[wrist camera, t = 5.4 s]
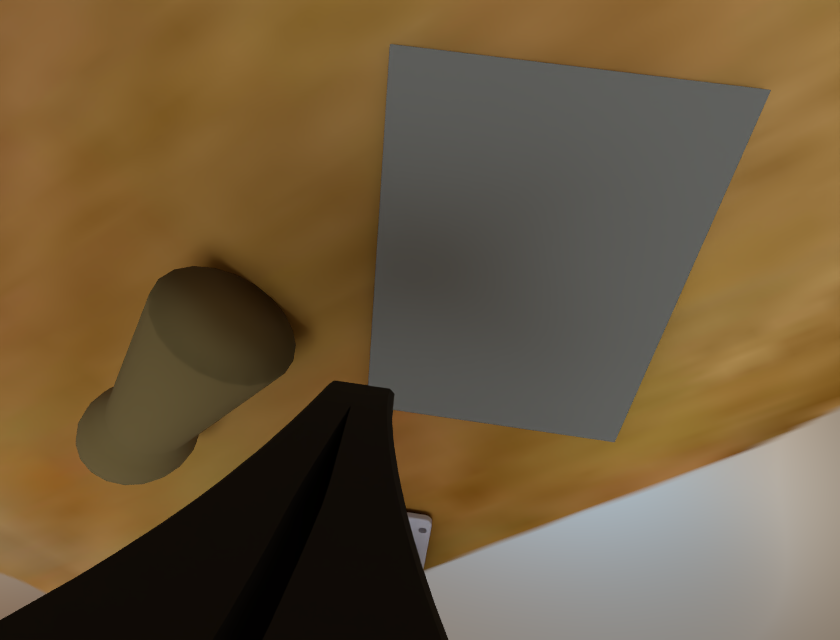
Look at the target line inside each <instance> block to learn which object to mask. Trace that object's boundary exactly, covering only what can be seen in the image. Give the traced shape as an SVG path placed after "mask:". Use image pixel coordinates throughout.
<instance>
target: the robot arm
mask: <svg viewBox="0 0 840 640" xmlns="http://www.w3.org/2000/svg"><path fill="white" fill-rule="evenodd" d="M394 395H395V394H394V393H393V391H392V390H391V389H389V388H382V387H376V386H369V385H362V384H355V383H348V382H341V381H333V382H331V383H330V384H329V385H328V386H327V387H326V388H325V389H324V390H323V391H322V392H321V393H320V394H319V395H318V396H317V397H316V398H315V399H314V400H313V401H312V402H311V403H310V404H309V405H308V406H307V407H306V408H305V409H303V410H302V411H301V412H300V413H299V414H298V415H297V416H296V417H295V418H294V419H293V420H292V421H291V422H290V423H289V424H287V425H286V426H285V427H284V428H283V429H282V430H281V431H280V432H279V433H277V434H276V435H275V436H274V437H273V438H272V439H271V440H270V441H268V442H267V443H266V444H265V445H264V446H263V447H262V448H260V449H259V450H258V451H257V452H256V453H254V454H253V455H252V456H251V457H249V458H248V459H247V460H246V461H244V462H243V463H242V464H241V465H240V466H238V467H237V468H236V469H235V470H233V471H232V472H231V473H230V474H228V475H227V476H226V477H225V478H223V479H222V480H221V481H220V482H218V483H217V484H216V485H214V486H213V487H212V488H210V489H209V490H208V491H206V492H205V493H204V494H202V495H201V496H199V497H198V498H197V499H195V500H194V501H193V502H191V503H190V504H188V505H187V506H186V507H184V508H183V509H181V510H180V511H178V512H177V513H176V514H174V515H173V516H171V517H170V518H168V519H167V520H165V521H164V522H162V523H161V524H160V525H158V526H156V527H155V528H153V529H152V530H150V531H149V532H147V533H146V534H144V535H143V536H141V537H139V538H138V539H136V540H135V541H133V542H132V543H130V544H129V545H127V546H126V547H124V548H122V549H121V550H119V551H118V552H116V553H115V554H113V555H112V556H110V557H108V558H107V559H105V560H103V561H102V562H100V563H99V564H97V565H95V566H94V567H92V568H90V569H89V570H87V571H85V572H84V573H82V574H80V575H79V576H77V577H75V578H74V579H72V580H70V581H68V582H67V583H65V584H63V585H61V586H60V587H58V588H56V589H54V590H52V591H51V592H49V593H47V594H45V595H44V596H42V597H40V598H38V599H37V600H35V601H33V602H31V603H30V604H28V605H26V606H24V607H23V608H21V609H19V610H17V611H15V612H14V613H12V614H10V615H9V616H7V617H5V618H3V619H1V620H0V640H448V638H447V635H446V632H445V630H444V627H443V624H442V622H441V619H440V616H439V614H438V611H437V609H436V606H435V603H434V600H433V597H432V595H431V591H430V588H429V585H428V583H427V579H426V576H425V573H424V570H423V569H424V563H425V558H426V553H427V547H428V542H429V537H430V532H431V526H432V519H431V518H430V517H429V516H427V515H423V514H416V513H410V512H407V511H406V506H405V502H404V497H403V493H402V489H401V484H400V479H399V474H398V468H397V461H396V455H395V448H394V440H393V428H392V415H393V405H394Z"/></svg>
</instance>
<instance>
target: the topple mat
mask: <svg viewBox="0 0 840 640" xmlns="http://www.w3.org/2000/svg"><path fill="white" fill-rule="evenodd" d="M770 91H771V90H766V89H758V88H750V87H742V86H733V85H725V84H717V83H708V82H700V81H692V80H684V79H675V78H667V77H659V76H650V75H642V74H634V73H626V72H617V71H609V70H601V69H592V68H584V67H576V66H568V65H559V64H551V63H543V62H534V61H526V60H518V59H510V58H501V57H493V56H485V55H476V54H468V53H460V52H452V51H443V50H435V49H427V48H418V47H410V46H402V45H394V44H390V52H389V67H388V83H387V99H386V115H385V130H384V146H383V162H382V177H381V193H380V209H379V225H378V240H377V256H376V272H375V287H374V303H373V319H372V335H371V350H370V366H369V382H368V385H369V386H376V387H382V388H389V389H391V390H392V391H393V393H394V394H395V395H394V405H393V410H399V411H406V412H413V413H419V414H426V415H433V416H440V417H447V418H453V419H460V420H467V421H474V422H481V423H488V424H494V425H501V426H508V427H515V428H522V429H528V430H535V431H542V432H549V433H556V434H563V435H569V436H576V437H583V438H590V439H597V440H604V441H610V442H615V440H616V438H617V436H618V433H619V431H620V429H621V427H622V424H623V422H624V420H625V418H626V415H627V413H628V411H629V409H630V406H631V404H632V402H633V399H634V397H635V395H636V393H637V390H638V388H639V386H640V384H641V381H642V379H643V377H644V375H645V372H646V370H647V368H648V366H649V363H650V361H651V359H652V357H653V354H654V352H655V350H656V348H657V345H658V343H659V341H660V339H661V336H662V334H663V332H664V330H665V327H666V325H667V323H668V321H669V318H670V316H671V314H672V312H673V309H674V307H675V305H676V303H677V300H678V298H679V296H680V294H681V291H682V289H683V287H684V285H685V282H686V280H687V278H688V276H689V273H690V271H691V269H692V267H693V264H694V262H695V260H696V258H697V255H698V253H699V251H700V249H701V246H702V244H703V242H704V240H705V237H706V235H707V233H708V231H709V228H710V226H711V224H712V222H713V219H714V217H715V215H716V213H717V210H718V208H719V206H720V204H721V201H722V199H723V197H724V195H725V192H726V190H727V188H728V186H729V183H730V181H731V179H732V177H733V174H734V172H735V170H736V168H737V165H738V163H739V161H740V159H741V156H742V154H743V152H744V150H745V147H746V145H747V143H748V141H749V138H750V136H751V134H752V132H753V129H754V127H755V125H756V122H757V120H758V118H759V116H760V113H761V111H762V109H763V107H764V104H765V102H766V100H767V98H768V95H769V93H770Z"/></svg>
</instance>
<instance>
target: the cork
mask: <svg viewBox="0 0 840 640" xmlns="http://www.w3.org/2000/svg"><path fill="white" fill-rule="evenodd" d="M295 346H296V345H295V340H294V335H293V330H292V328H291V326H290V324H289V322H288V320H287V318H286V316H285V314H284V313H283V312H282V310H281V309H280V308H279V307H278V306H277V304H276V303H275V302H274V301H273V300H272V299H271V298H270V297H269V296H268V295H267V294H265V293H264V292H263V291H262V290H260V289H259V288H258V287H257V286H255V285H254V284H252V283H250V282H248V281H246V280H244V279H243V278H241V277H239V276H237V275H235V274H232V273H228V272H225V271H222V270H219V269H216V268H208V267H197V266H192V267H186V268H181V269H175V270H173V271H171V272H169V273H168V274H166V275H164V276H163V277H161V278H159V279H158V281H157V282H156V284H155V286H154V287H153V289H152V290H151V292H150V294H149V296H148V299H147V301H146V304H145V307H144V309H143V312H142V314H141V317H140V320H139V322H138V325H137V327H136V330H135V333H134V335H133V338H132V340H131V343H130V346H129V348H128V351H127V354H126V356H125V359H124V361H123V364H122V367H121V369H120V372H119V374H118V377H117V380H116V382H115V385H114V387H112V388H110V389H108V390H107V391H105V392H104V393H102V394H101V395H100V396H99V397H98V398H96V399H95V400H94V401H93V402H91V404H90V405H89V406H88V408H87V409H86V411H85V413H84V414H83V416H82V418H81V419H80V421H79V423H78V429H77V436H76V446H77V450H78V453H79V456H80V459H81V461H82V462H83V463H84V464H85V465H86V467H87V468H88V469H89V470H90V471H91V472H92V473H94V474H95V475H97V476H99V477H101V478H102V479H104V480H106V481H109V482H113V483H118V484H122V485H134V484H145V483H148V482H151V481H154V480H157V479H160V478H162V477H165V476H166V475H168V474H169V473H171V472H172V471H174V470H175V469H177V468H178V467H180V465H181V464H182V463H183V462H184V461H185V460H186V459H187V457H188V456H189V455H190V453H191V452H192V451H193V450H194V447H195V444H196V442H197V439H198V436H199V434H200V433H201V432H202V431H204V430H205V429H207V428H208V427H209V426H211V425H212V424H214V423H215V422H217V421H218V420H219V419H221V418H222V417H224V416H225V415H226V414H228V413H229V412H231V411H232V410H233V409H235V408H236V407H238V406H239V405H241V404H242V403H243V402H245V401H246V400H248V399H249V398H250V397H252V396H253V395H255V394H256V393H258V392H259V391H260V390H262V389H263V388H265V387H266V386H267V385H269V384H270V383H272V382H273V381H274V380H276V379H277V378H279V377H280V376H282V375H283V374H284V373H285V372H286V371H287V369H288V368H289V366H290V365H291V363H292V362H293V359H294V352H295Z"/></svg>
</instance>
